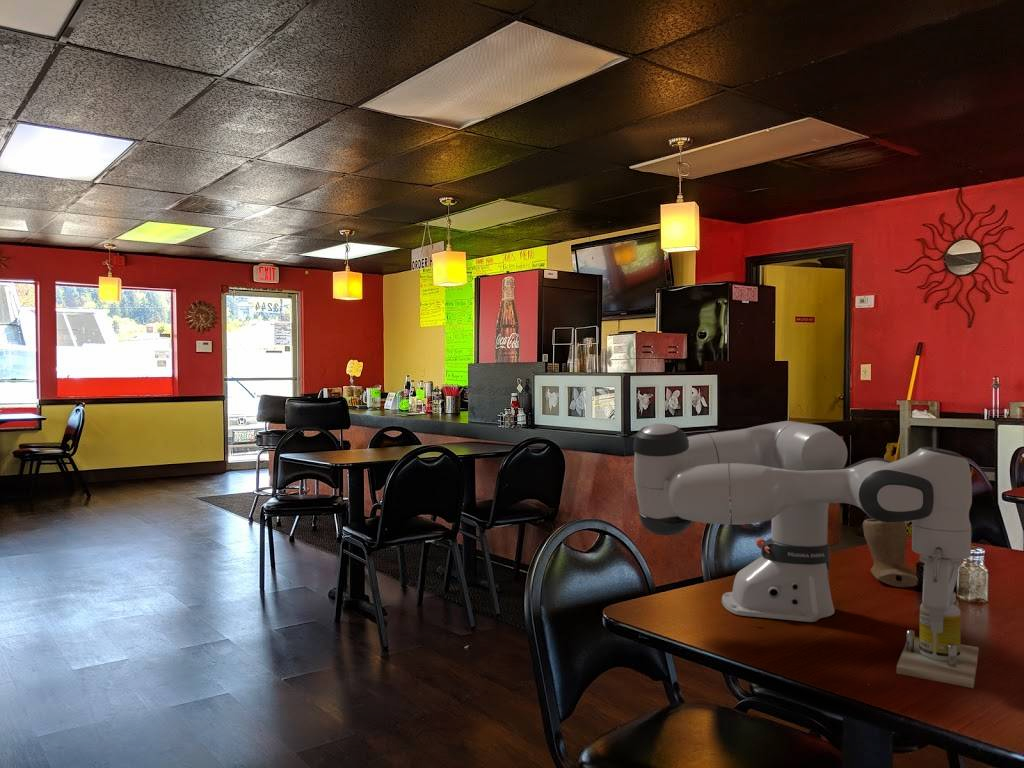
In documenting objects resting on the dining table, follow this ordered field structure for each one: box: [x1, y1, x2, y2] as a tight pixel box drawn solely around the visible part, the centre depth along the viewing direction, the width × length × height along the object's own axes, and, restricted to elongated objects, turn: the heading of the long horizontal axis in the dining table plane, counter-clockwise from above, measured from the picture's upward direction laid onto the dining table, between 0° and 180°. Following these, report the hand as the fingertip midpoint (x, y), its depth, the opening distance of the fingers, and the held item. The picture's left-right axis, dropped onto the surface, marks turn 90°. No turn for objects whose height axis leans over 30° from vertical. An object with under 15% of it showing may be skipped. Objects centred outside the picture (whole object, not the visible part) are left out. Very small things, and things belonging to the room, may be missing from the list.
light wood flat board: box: [895, 635, 979, 689], centre depth 134 cm, size 18×11×1 cm, turn 147°
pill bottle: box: [918, 591, 962, 661], centre depth 134 cm, size 6×6×11 cm
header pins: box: [905, 629, 957, 667], centre depth 135 cm, size 9×8×4 cm
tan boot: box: [862, 518, 918, 588], centre depth 188 cm, size 15×12×15 cm
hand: (939, 623), depth 134 cm, fingers open, 8 cm apart
